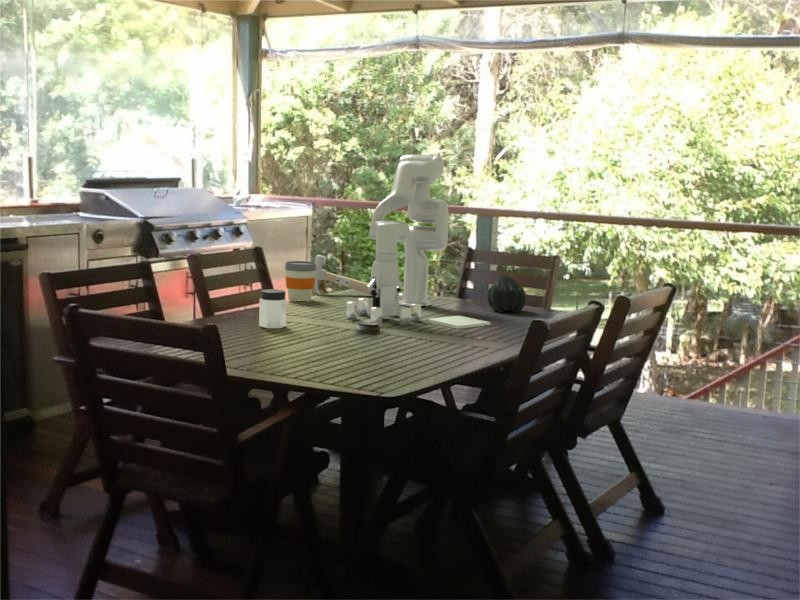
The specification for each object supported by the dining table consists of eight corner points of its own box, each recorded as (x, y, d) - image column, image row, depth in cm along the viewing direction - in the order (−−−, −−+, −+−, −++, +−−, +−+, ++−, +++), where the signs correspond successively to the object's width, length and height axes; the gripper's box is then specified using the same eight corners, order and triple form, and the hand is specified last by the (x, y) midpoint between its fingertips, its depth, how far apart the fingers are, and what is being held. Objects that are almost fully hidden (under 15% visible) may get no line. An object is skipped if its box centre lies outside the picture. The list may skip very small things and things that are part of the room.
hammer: (385, 273, 382) (317, 254, 383) (384, 274, 377) (315, 255, 378) (375, 309, 384) (308, 289, 386) (374, 310, 380) (306, 290, 381)
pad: (427, 321, 324) (427, 318, 324) (459, 318, 334) (459, 315, 334) (457, 328, 312) (458, 326, 312) (490, 325, 322) (490, 322, 322)
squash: (525, 302, 344) (526, 270, 353) (485, 301, 347) (487, 269, 355) (525, 322, 356) (526, 290, 364) (487, 321, 358) (489, 289, 367)
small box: (395, 316, 322) (396, 286, 320) (380, 316, 320) (381, 287, 318) (387, 312, 329) (388, 283, 327) (372, 312, 327) (373, 283, 325)
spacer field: (335, 316, 328) (335, 299, 327) (382, 311, 342) (383, 296, 341) (384, 328, 306) (384, 311, 306) (432, 323, 321) (433, 306, 320)
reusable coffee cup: (295, 303, 354) (296, 265, 352) (278, 298, 363) (278, 261, 361) (321, 301, 362) (322, 263, 360) (304, 296, 371) (305, 260, 369)
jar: (284, 324, 307) (285, 289, 306) (287, 328, 300) (288, 292, 298) (257, 324, 305) (258, 288, 303) (260, 328, 297) (260, 292, 296)
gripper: (398, 255, 329) (396, 303, 332) (360, 257, 318) (358, 307, 321) (411, 257, 324) (409, 306, 327) (373, 260, 313) (371, 310, 316)
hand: (384, 306), depth 324 cm, fingers closed on small box, 6 cm apart
